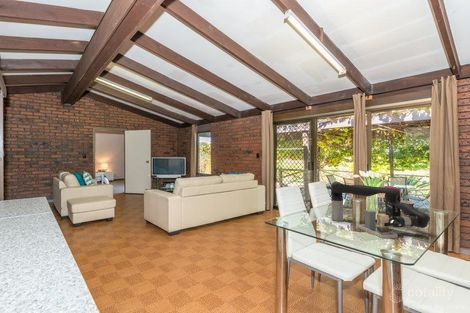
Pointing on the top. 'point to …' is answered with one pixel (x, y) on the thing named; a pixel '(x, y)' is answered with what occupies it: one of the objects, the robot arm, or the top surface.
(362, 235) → the pad
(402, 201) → the plastic cup
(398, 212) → the graphics card box
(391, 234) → the parts tray
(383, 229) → the banded wooden block
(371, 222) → the slate box
